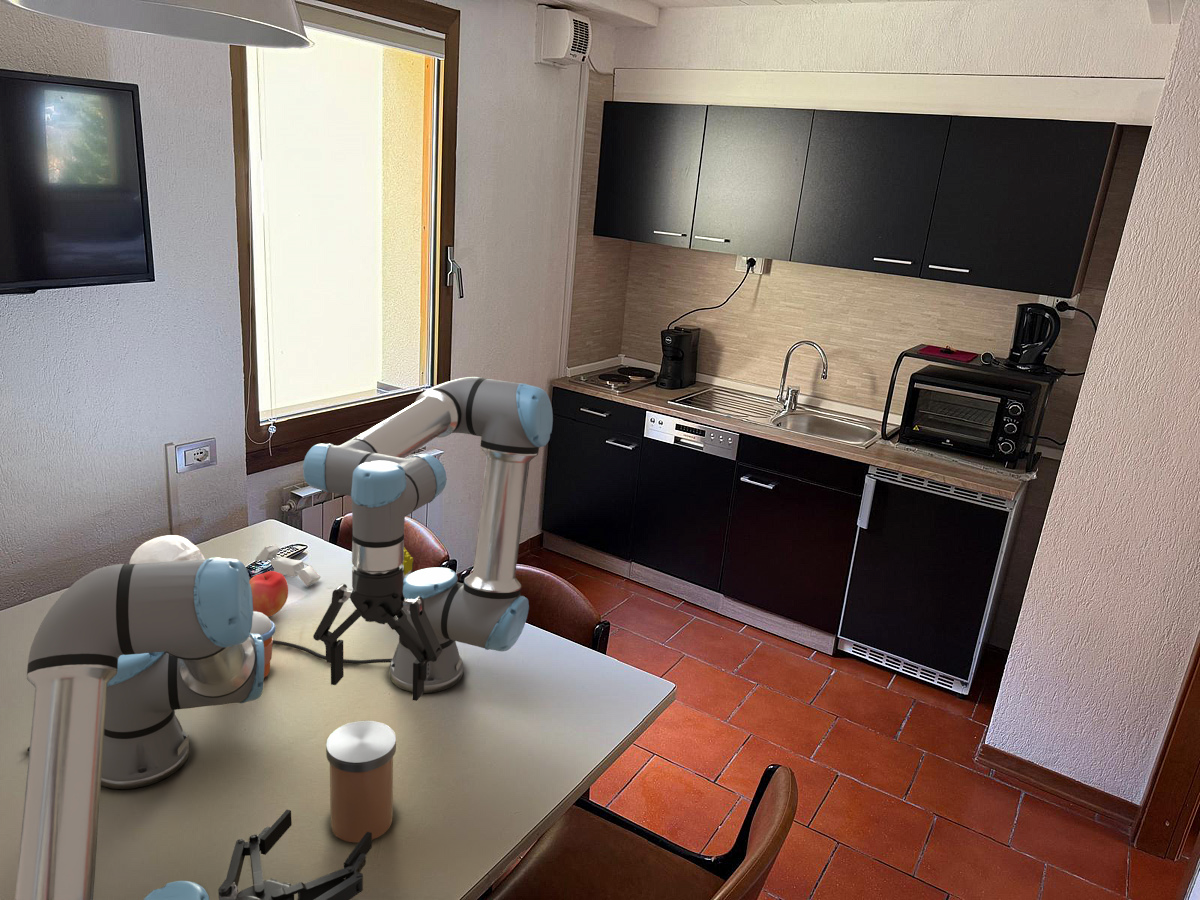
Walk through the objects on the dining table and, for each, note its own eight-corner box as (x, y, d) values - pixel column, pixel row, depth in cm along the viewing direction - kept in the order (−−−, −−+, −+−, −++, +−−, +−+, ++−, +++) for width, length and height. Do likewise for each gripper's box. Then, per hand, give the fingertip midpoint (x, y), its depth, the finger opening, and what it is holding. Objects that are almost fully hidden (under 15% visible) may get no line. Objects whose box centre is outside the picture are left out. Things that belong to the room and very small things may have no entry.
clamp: (253, 565, 223) (254, 542, 221) (265, 560, 226) (266, 537, 224) (309, 593, 215) (310, 569, 213) (320, 588, 218) (321, 564, 216)
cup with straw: (261, 689, 172) (257, 609, 167) (220, 681, 174) (215, 601, 168) (285, 666, 181) (283, 589, 175) (246, 658, 182) (243, 582, 177)
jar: (402, 807, 144) (403, 731, 139) (375, 848, 135) (375, 768, 130) (349, 794, 146) (348, 719, 141) (318, 834, 136) (317, 755, 132)
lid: (407, 737, 140) (407, 728, 139) (376, 778, 130) (376, 768, 129) (347, 724, 142) (347, 715, 142) (313, 763, 132) (312, 753, 132)
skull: (194, 621, 195) (192, 557, 191) (117, 602, 200) (112, 539, 196) (234, 599, 207) (233, 538, 203) (160, 581, 213) (157, 521, 209)
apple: (273, 600, 207) (272, 562, 204) (297, 613, 202) (296, 575, 199) (237, 614, 200) (234, 575, 197) (261, 628, 194) (259, 588, 191)
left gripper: (157, 936, 113) (257, 828, 133) (324, 991, 108) (403, 869, 127) (152, 891, 111) (255, 787, 131) (323, 944, 105) (404, 828, 125)
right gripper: (465, 567, 129) (461, 689, 135) (314, 542, 134) (316, 662, 140) (447, 588, 122) (443, 716, 128) (288, 561, 126) (291, 686, 133)
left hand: (329, 827), depth 129 cm, fingers open, 13 cm apart
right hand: (377, 688), depth 134 cm, fingers open, 13 cm apart
